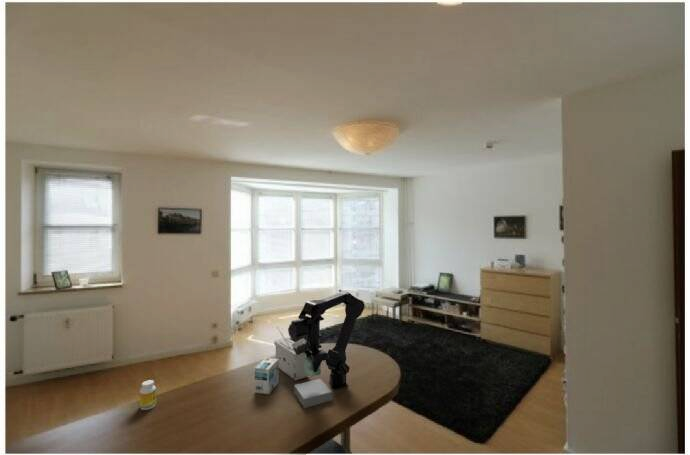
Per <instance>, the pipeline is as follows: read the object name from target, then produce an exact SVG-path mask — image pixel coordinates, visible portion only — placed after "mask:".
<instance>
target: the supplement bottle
mask: <svg viewBox="0 0 690 455" xmlns="http://www.w3.org/2000/svg"><path fill="white" fill-rule="evenodd" d="M139 400H140V401H139V406H140V407H139V408H140V409H141V410H142V411H147V410H148V411H149V410H150V409H153V408H154V407H155V406H156V405H157V387H156V385H155V381H154V380H153V379H149V380H144V381H143V382H142V383H141V388H140V390H139Z"/></svg>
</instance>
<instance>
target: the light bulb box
mask: <svg viewBox="0 0 690 455" xmlns="http://www.w3.org/2000/svg"><path fill="white" fill-rule="evenodd" d="M278 384H279V360H278V359H276V358H270V357H264V358H263V359H262V361H260V363H258V364H257V365H256V366H255V367H254V393H255V394H256V393H257V394H264V395H270V394H271V392H272V391H273V390H274V389H275V387H276V386H277V385H278Z"/></svg>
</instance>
